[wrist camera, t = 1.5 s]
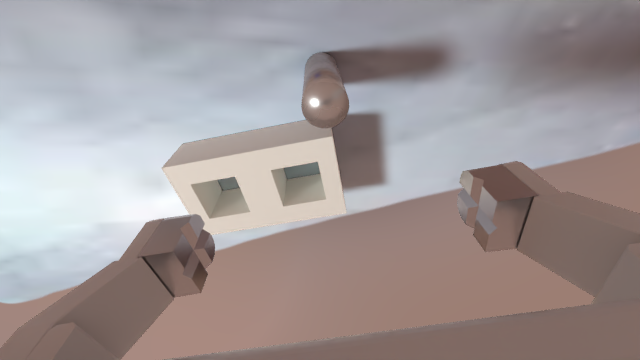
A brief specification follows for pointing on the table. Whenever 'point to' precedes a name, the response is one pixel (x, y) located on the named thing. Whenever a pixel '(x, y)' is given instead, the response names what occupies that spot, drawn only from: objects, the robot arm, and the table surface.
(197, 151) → the hole block
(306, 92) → the peg
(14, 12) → the table surface
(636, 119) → the table surface
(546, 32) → the table surface
